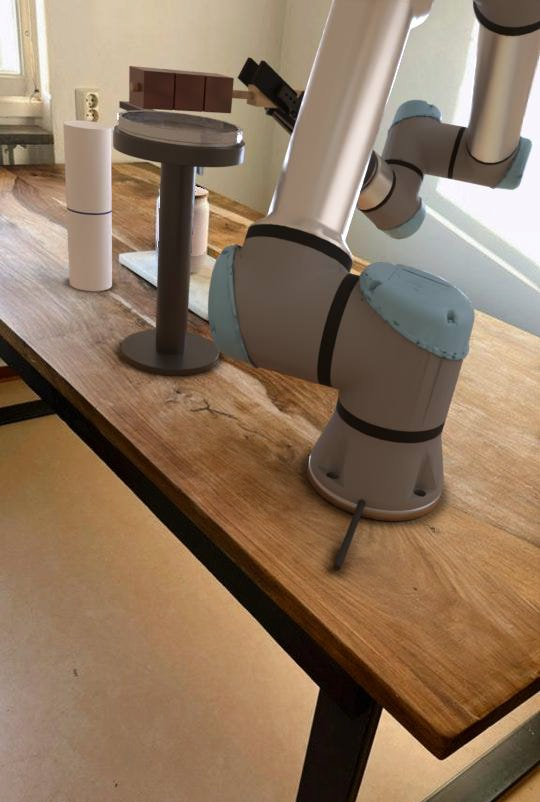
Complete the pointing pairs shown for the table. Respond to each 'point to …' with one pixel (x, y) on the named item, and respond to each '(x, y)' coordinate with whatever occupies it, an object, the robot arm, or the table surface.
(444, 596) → the table surface
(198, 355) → the plant stand
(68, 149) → the cylindrical container
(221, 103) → the beef skewer
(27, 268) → the table surface
